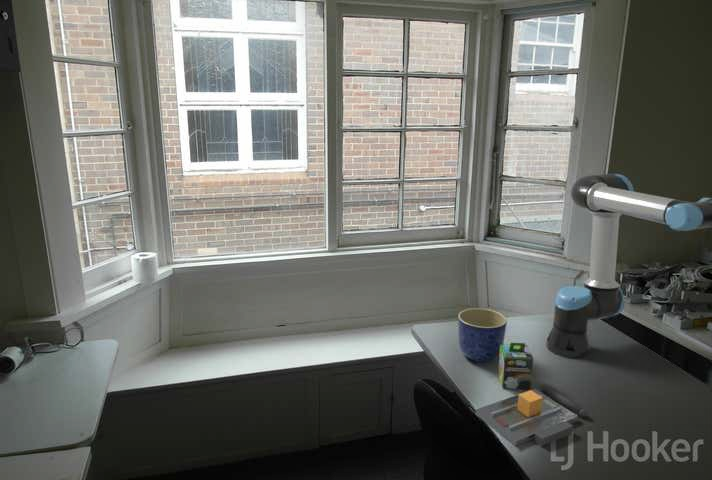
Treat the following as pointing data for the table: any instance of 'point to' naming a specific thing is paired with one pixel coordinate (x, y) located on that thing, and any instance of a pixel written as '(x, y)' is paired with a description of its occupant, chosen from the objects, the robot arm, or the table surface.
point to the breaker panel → (523, 418)
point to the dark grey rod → (564, 401)
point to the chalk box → (515, 366)
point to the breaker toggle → (529, 403)
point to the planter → (481, 333)
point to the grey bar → (553, 433)
